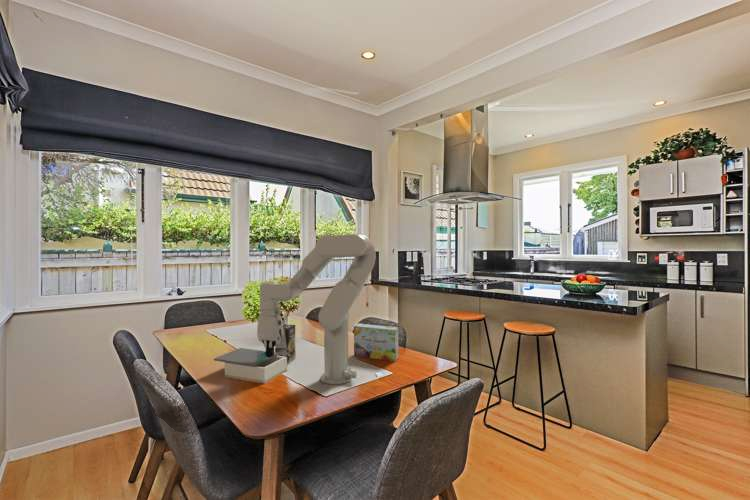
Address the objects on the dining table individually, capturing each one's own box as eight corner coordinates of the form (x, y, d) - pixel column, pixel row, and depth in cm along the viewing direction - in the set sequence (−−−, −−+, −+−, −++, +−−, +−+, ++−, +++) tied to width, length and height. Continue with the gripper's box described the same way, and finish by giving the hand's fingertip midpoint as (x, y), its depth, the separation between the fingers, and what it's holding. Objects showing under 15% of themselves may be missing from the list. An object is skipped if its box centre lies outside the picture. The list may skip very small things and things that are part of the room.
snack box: (353, 356, 181) (353, 325, 180) (358, 353, 186) (358, 322, 186) (395, 362, 173) (395, 329, 173) (399, 358, 178) (399, 326, 178)
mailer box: (287, 370, 162) (286, 357, 162) (264, 383, 148) (264, 368, 148) (249, 365, 169) (249, 351, 169) (224, 376, 155) (224, 362, 155)
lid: (278, 354, 164) (278, 346, 164) (254, 366, 149) (254, 357, 149) (240, 349, 171) (240, 341, 171) (213, 360, 157) (213, 351, 157)
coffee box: (288, 364, 170) (287, 329, 169) (274, 363, 171) (274, 328, 170) (296, 358, 179) (295, 324, 178) (283, 357, 180) (283, 323, 179)
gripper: (290, 311, 156) (290, 355, 157) (260, 309, 161) (261, 351, 162) (279, 315, 149) (279, 361, 150) (248, 312, 154) (249, 356, 155)
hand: (270, 356), depth 156 cm, fingers closed
